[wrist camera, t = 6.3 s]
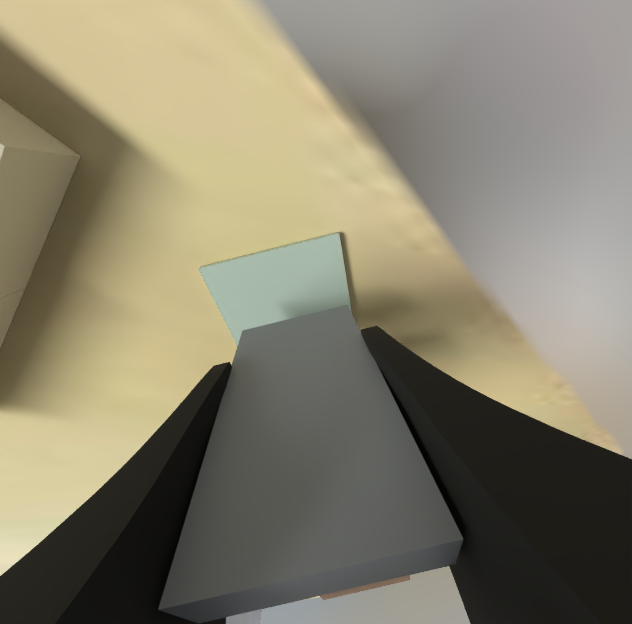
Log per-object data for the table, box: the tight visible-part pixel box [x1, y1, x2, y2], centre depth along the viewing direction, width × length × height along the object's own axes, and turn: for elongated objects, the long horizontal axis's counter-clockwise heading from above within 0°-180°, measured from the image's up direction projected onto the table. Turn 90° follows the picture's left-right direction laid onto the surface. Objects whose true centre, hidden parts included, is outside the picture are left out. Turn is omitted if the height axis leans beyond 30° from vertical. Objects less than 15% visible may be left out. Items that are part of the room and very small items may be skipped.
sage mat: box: [198, 232, 352, 347], centre depth 16 cm, size 20×7×1 cm, turn 12°
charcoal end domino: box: [158, 305, 463, 623], centre depth 7 cm, size 1×5×8 cm, turn 102°
